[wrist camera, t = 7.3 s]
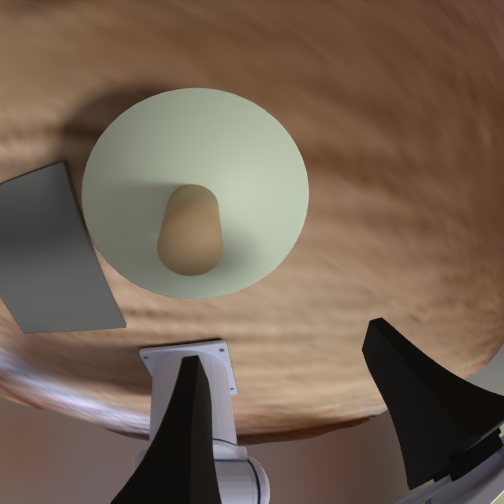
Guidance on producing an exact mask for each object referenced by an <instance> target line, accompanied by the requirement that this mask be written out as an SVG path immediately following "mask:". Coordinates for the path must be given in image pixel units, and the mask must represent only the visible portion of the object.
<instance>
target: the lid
mask: <svg viewBox="0 0 504 504" xmlns="http://www.w3.org/2000/svg"><path fill="white" fill-rule="evenodd" d="M308 199H309V187H308V179H307V173H306V169H305V165H304V162H303V159H302V157H301V154H300V152H299V150H298V148H297V146H296V144H295V143H294V141H293V139H292V138H291V136H290V135H289V133H288V132H287V131H286V130H285V129H284V127H283V126H282V125H281V124H280V123H279V122H278V121H277V120H276V119H275V118H274V117H273V116H271V115H270V114H269V113H268V112H267V111H265V110H264V109H262V108H261V107H259V106H258V105H256V104H254V103H253V102H251V101H249V100H247V99H244V98H242V97H240V96H237V95H235V94H232V93H228V92H224V91H220V90H215V89H207V88H184V89H178V90H172V91H167V92H164V93H161V94H157V95H154V96H152V97H149V98H147V99H145V100H143V101H141V102H139V103H137V104H135V105H133V106H132V107H131V108H129V109H128V110H126V111H125V112H123V113H122V114H121V115H120V116H119V117H117V118H116V119H115V120H114V121H113V122H112V123H111V124H110V125H109V126H108V127H107V129H106V130H105V131H104V132H103V134H102V135H101V136H100V138H99V139H98V141H97V143H96V144H95V146H94V148H93V150H92V151H91V154H90V156H89V159H88V162H87V164H86V168H85V172H84V176H83V182H82V209H83V214H84V219H85V223H86V226H87V228H88V231H89V234H90V236H91V238H92V240H93V242H94V244H95V246H96V247H97V249H98V250H99V252H100V253H101V255H102V256H103V257H104V258H105V260H106V261H107V262H108V263H109V264H110V265H111V266H112V267H113V268H114V269H115V270H116V271H117V272H118V273H120V274H121V275H122V276H123V277H125V278H126V279H128V280H129V281H131V282H132V283H134V284H136V285H138V286H140V287H141V288H144V289H146V290H148V291H151V292H153V293H157V294H160V295H164V296H167V297H173V298H179V299H208V298H215V297H220V296H224V295H228V294H231V293H234V292H237V291H240V290H242V289H244V288H246V287H248V286H250V285H252V284H254V283H256V282H257V281H259V280H261V279H262V278H264V277H265V276H266V275H267V274H269V273H270V272H271V271H273V270H274V269H275V268H276V267H277V266H278V265H279V264H280V263H281V262H282V261H283V260H284V258H285V257H286V256H287V254H288V253H289V252H290V251H291V249H292V247H293V246H294V244H295V242H296V241H297V239H298V237H299V235H300V232H301V230H302V228H303V225H304V221H305V218H306V214H307V208H308Z"/></svg>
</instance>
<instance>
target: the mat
mask: <svg viewBox="0 0 504 504" xmlns="http://www.w3.org/2000/svg"><path fill="white" fill-rule="evenodd" d="M0 297H1V299H2V301H3V302H4V304H5V306H6V307H7V309H8V310H9V312H10V313H11V315H12V317H13V318H14V320H15V321H16V323H17V324H18V326H19V327H20V328H21V330H22V331H23V333H50V332H71V331H88V330H102V329H115V328H126V322H125V320H124V318H123V316H122V314H121V312H120V310H119V308H118V305H117V303H116V301H115V299H114V297H113V295H112V292H111V290H110V288H109V286H108V283H107V281H106V279H105V276H104V274H103V271H102V269H101V267H100V264H99V262H98V259H97V257H96V254H95V252H94V249H93V246H92V244H91V241H90V238H89V235H88V233H87V230H86V227H85V224H84V221H83V218H82V215H81V212H80V209H79V206H78V203H77V200H76V196H75V193H74V190H73V186H72V183H71V179H70V176H69V172H68V168H67V164H66V160H65V161H62V162H59V163H56V164H53V165H50V166H47V167H44V168H41V169H38V170H36V171H33V172H30V173H27V174H25V175H22V176H19V177H17V178H14V179H12V180H9V181H7V182H4V183H2V184H0Z"/></svg>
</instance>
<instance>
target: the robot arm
mask: <svg viewBox="0 0 504 504" xmlns="http://www.w3.org/2000/svg"><path fill="white" fill-rule="evenodd" d="M221 348H222V349H221ZM362 352H363V355H364V358H365V361H366V364H367V366H368V369H369V371H370V373H371V375H372V377H373V379H374V381H375V383H376V385H377V387H378V389H379V391H380V393H381V395H382V397H383V399H384V401H385V403H386V406H387V408H388V410H389V412H390V415H391V417H392V420H393V423H394V426H395V429H396V433H397V436H398V439H399V443H400V447H401V451H402V455H403V460H404V465H405V471H406V477H407V484H408V487H409V489H410V490H412V489H414V488H416V487H418V486H420V485H422V484H424V483H426V482H427V481H430V480H431V479H433V480H434V482H435V483H433V484H432V485H430V486H428V487H426V488H424V489H422V490H421V491H418V492H416V493H414V494H412V495H410V496H408V497H407V498H404V499H402V500H400V501H398V502H395V503H393V504H421V503H423V502H425V501H426V502H425V504H492V503H493V502H494V501H495V500H496V499H497V498H498V497H499V496H500V495H501V494H502V493H503V492H504V436H502V437H501V438H500V437H499V434H500V433H501V430H500V428H499V427H500V426H501V425H502V424H503V423H504V396H502V395H499V394H496V393H493V392H490V391H487V390H485V389H482V388H480V387H478V386H475V385H473V384H471V383H469V382H467V381H465V380H464V379H462V378H460V377H458V376H456V375H455V374H453V373H451V372H450V371H448V370H447V369H445V368H443V367H442V366H440V365H439V364H438V363H436V362H435V361H434V360H432V359H431V358H429V357H428V356H427V355H426V354H424V353H423V352H422V351H421V350H419V349H418V348H417V347H416V346H415V345H413V344H412V343H411V342H410V341H409V340H407V339H406V338H405V337H404V336H403V335H402V334H400V333H399V332H398V331H397V330H396V329H395V328H394V327H393V326H391V325H390V324H389V323H388V322H387V321H386V320H384V319H383V318H382V317H381V318H377V319H374V320H370V321H369V325H368V329H367V333H366V337H365V340H364V344H363V347H362ZM139 355H140V357H141V358H142V360H143V362H144V364H145V365H146V367H147V369H148V371H149V372H150V374H151V376H152V377H153V380H152V396H151V415H150V446H149V448H148V449H144V448H141V449H140V450H139V451H138V452H137V453H135V454H134V457H133V465H132V476H131V477H130V479H129V480H128V482H127V483H126V484H125V486H124V487H123V488H122V490H121V491H120V492H119V493H118V494H117V496H116V497H115V498H114V499H113V500H112V502H111V504H269V499H270V489H269V482H268V478H267V475H266V473H265V471H264V469H263V468H262V467H261V466H260V464H259V463H258V462H257V461H256V460H255V459H254V458H252V457H247V452H246V448H245V447H240V446H237V439H236V432H235V425H234V418H233V410H232V403H231V395H236V394H237V388H236V384H235V379H234V375H233V371H232V367H231V362H230V358H229V354H228V349H227V345H226V342H225V341H223V340H217V341H210V342H202V343H193V344H184V345H175V346H164V347H153V348H142V349H140V351H139Z"/></svg>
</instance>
